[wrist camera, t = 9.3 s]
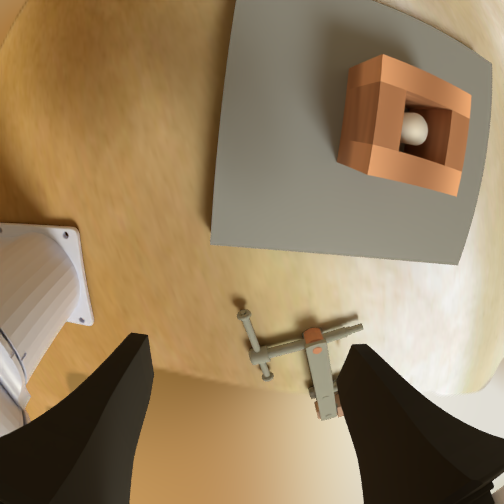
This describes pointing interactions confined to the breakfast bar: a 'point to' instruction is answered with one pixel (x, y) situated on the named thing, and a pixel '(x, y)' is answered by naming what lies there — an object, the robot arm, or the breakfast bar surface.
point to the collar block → (391, 120)
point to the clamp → (317, 361)
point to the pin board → (334, 135)
